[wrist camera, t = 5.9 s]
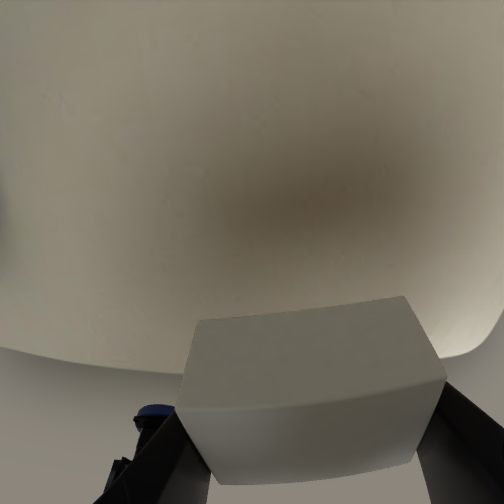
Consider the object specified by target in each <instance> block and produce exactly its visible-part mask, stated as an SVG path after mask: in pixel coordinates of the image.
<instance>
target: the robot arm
mask: <svg viewBox="0 0 504 504" xmlns="http://www.w3.org/2000/svg"><path fill="white" fill-rule="evenodd" d="M133 421H134V422H135V424H136V425H137V427H138V428H139V429H140V431H141V433H140V436H139V439H138V442H137V446H136V452H135V455H134V459H133V460H132V461H131V460H128V459H127V458H125V457H122V460H114V463H113V466H112V469H111V472H110V475H109V477H108V480H107V483H106V486H105V489H104V493H103V494H102V495H101V496H100V497H99V498H98V499H97V500H96V501H95V502H94V503H93V504H206V502H207V495H208V489H209V482H210V475H211V471H210V469H209V468H208V466H207V464H206V463H205V461H204V460H203V458H202V456H201V455H200V453H199V451H198V450H197V448H196V446H195V445H194V443H193V441H192V440H191V438H190V436H189V435H188V433H187V431H186V429H185V428H184V426H183V424H182V422H181V421H180V419H179V417H178V415H177V413H176V411H175V410H174V411H173V412H172V413H171V414H170V416H169V417H149V416H134V418H133ZM416 451H417V454H418V457H419V460H420V463H421V467H422V471H423V474H424V478H425V481H426V485H427V489H428V493H429V496H430V500H431V504H504V428H503V427H502V426H500V425H499V424H498V423H497V422H496V421H494V420H493V419H492V418H491V417H490V416H488V415H487V414H486V413H485V412H484V411H482V410H481V409H480V408H479V407H477V406H476V405H475V404H474V403H473V402H471V401H470V400H469V399H468V398H466V397H465V396H464V395H463V394H462V393H460V392H459V391H458V390H457V389H455V388H454V387H453V386H452V385H450V384H449V383H448V382H447V381H446V382H445V385H444V387H443V390H442V393H441V395H440V398H439V400H438V403H437V405H436V408H435V410H434V412H433V415H432V417H431V419H430V422H429V424H428V426H427V428H426V431H425V433H424V435H423V437H422V439H421V441H420V443H419V445H418V447H417V449H416Z"/></svg>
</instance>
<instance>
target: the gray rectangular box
mask: <svg viewBox="0 0 504 504" xmlns="http://www.w3.org/2000/svg"><path fill="white" fill-rule="evenodd" d="M446 379H447V373H446V371H445V369H444V367H443V366H442V363H441V362H440V359H439V357H438V356H437V354H436V352H435V350H434V348H433V346H432V344H431V342H430V341H429V339H428V337H427V335H426V333H425V332H424V330H423V328H422V326H421V324H420V323H419V321H418V319H417V317H416V316H415V314H414V312H413V311H412V309H411V307H410V305H409V304H408V302H407V300H406V299H405V297H404V296H397V297H391V298H385V299H378V300H372V301H366V302H359V303H352V304H345V305H338V306H331V307H323V308H316V309H308V310H300V311H292V312H283V313H274V314H265V315H255V316H245V317H235V318H224V319H212V320H200V321H198V323H197V326H196V330H195V333H194V337H193V341H192V344H191V348H190V352H189V356H188V359H187V363H186V367H185V371H184V374H183V378H182V382H181V386H180V390H179V394H178V398H177V402H176V406H175V411H176V413H177V415H178V417H179V419H180V421H181V422H182V424H183V426H184V428H185V429H186V431H187V433H188V435H189V436H190V438H191V440H192V441H193V443H194V445H195V446H196V448H197V450H198V451H199V453H200V455H201V456H202V458H203V460H204V461H205V463H206V464H207V466H208V468H209V469H210V471H211V472H212V474H213V475H214V477H215V478H216V480H217V481H218V483H219V484H221V485H260V484H281V483H293V482H305V481H314V480H322V479H330V478H337V477H343V476H349V475H355V474H360V473H366V472H371V471H376V470H381V469H385V468H389V467H393V466H398V465H401V464H405V463H408V462H410V461H411V459H412V457H413V455H414V453H415V451H416V449H417V447H418V445H419V443H420V441H421V439H422V437H423V435H424V433H425V431H426V428H427V426H428V424H429V422H430V419H431V417H432V415H433V412H434V410H435V408H436V405H437V403H438V400H439V398H440V395H441V393H442V390H443V387H444V385H445V382H446Z"/></svg>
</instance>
